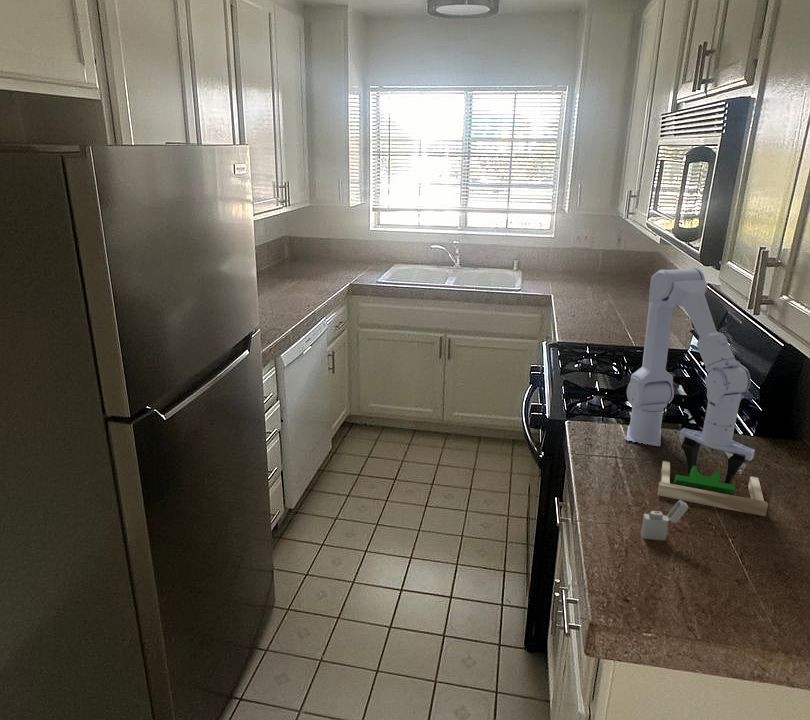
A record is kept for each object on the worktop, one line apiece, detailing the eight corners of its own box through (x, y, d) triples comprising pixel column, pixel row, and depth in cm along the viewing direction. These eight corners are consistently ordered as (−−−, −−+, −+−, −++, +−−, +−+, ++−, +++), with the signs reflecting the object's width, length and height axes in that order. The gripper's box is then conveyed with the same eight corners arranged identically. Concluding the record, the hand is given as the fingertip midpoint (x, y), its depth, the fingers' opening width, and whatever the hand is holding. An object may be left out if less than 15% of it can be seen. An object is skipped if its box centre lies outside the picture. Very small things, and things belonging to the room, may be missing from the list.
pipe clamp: (731, 478, 130) (736, 472, 126) (730, 495, 128) (735, 490, 124) (675, 468, 133) (677, 462, 129) (673, 484, 132) (676, 479, 128)
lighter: (642, 538, 114) (648, 501, 111) (640, 533, 115) (646, 496, 113) (682, 542, 113) (689, 505, 110) (679, 536, 114) (686, 499, 112)
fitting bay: (658, 470, 138) (660, 460, 137) (758, 488, 130) (760, 478, 130) (657, 495, 128) (659, 484, 127) (765, 516, 120) (768, 505, 120)
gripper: (764, 425, 125) (751, 483, 129) (692, 405, 134) (683, 460, 139) (752, 436, 120) (740, 496, 124) (679, 414, 130) (670, 470, 134)
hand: (709, 477), depth 131 cm, fingers open, 7 cm apart
